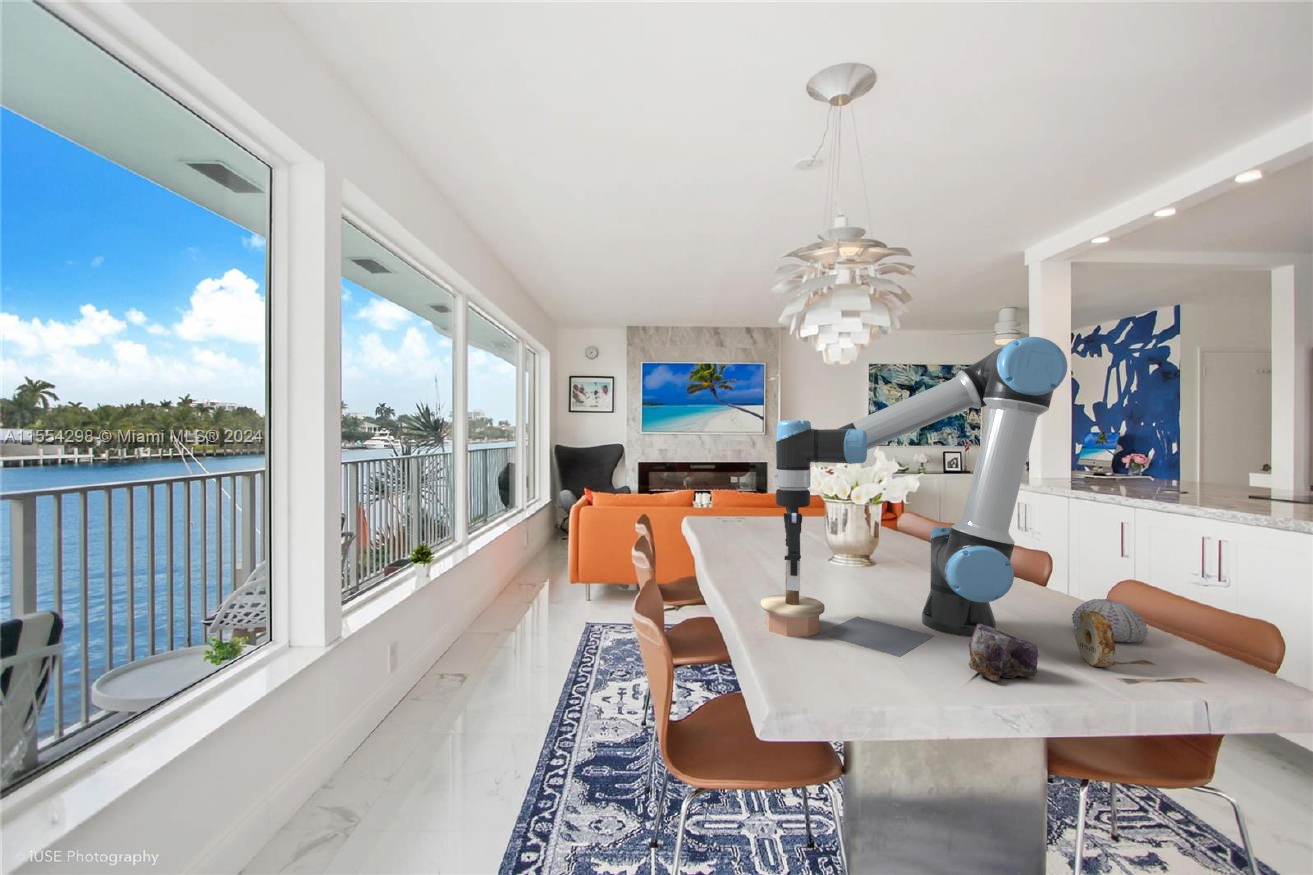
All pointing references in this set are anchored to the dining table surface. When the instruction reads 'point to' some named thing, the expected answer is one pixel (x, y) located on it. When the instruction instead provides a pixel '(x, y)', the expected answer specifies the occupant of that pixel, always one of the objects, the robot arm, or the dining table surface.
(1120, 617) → the sea urchin shell
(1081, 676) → the dining table surface
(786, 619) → the terracotta bowl
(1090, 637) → the stone disc
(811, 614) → the oak lid
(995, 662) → the rock
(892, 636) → the rubber mat
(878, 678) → the dining table surface
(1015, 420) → the robot arm
